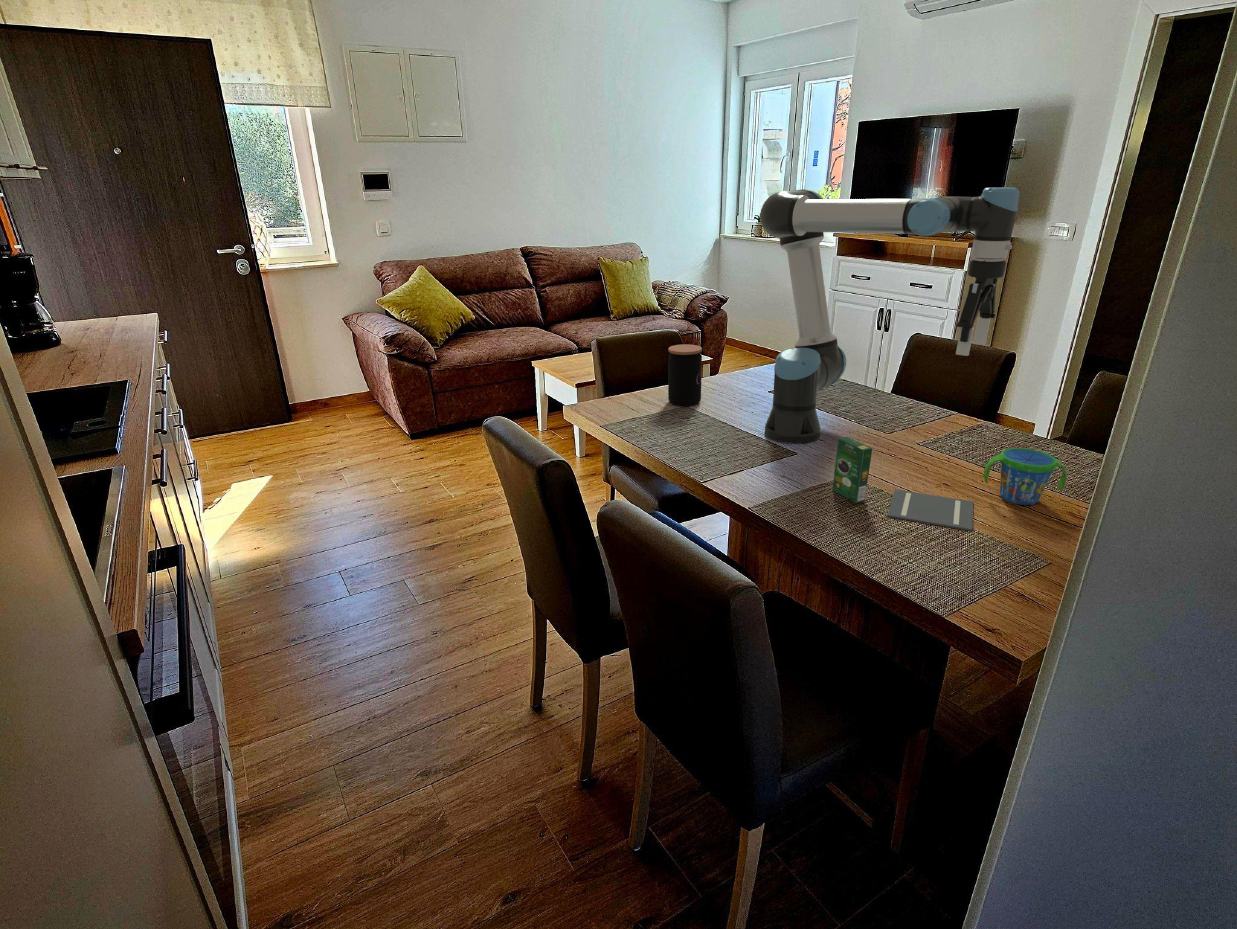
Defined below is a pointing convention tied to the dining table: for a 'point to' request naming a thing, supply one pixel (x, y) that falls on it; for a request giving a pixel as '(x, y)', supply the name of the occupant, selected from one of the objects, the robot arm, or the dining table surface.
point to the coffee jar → (684, 375)
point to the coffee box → (852, 469)
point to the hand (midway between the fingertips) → (970, 349)
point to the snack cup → (1024, 474)
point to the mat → (932, 509)
